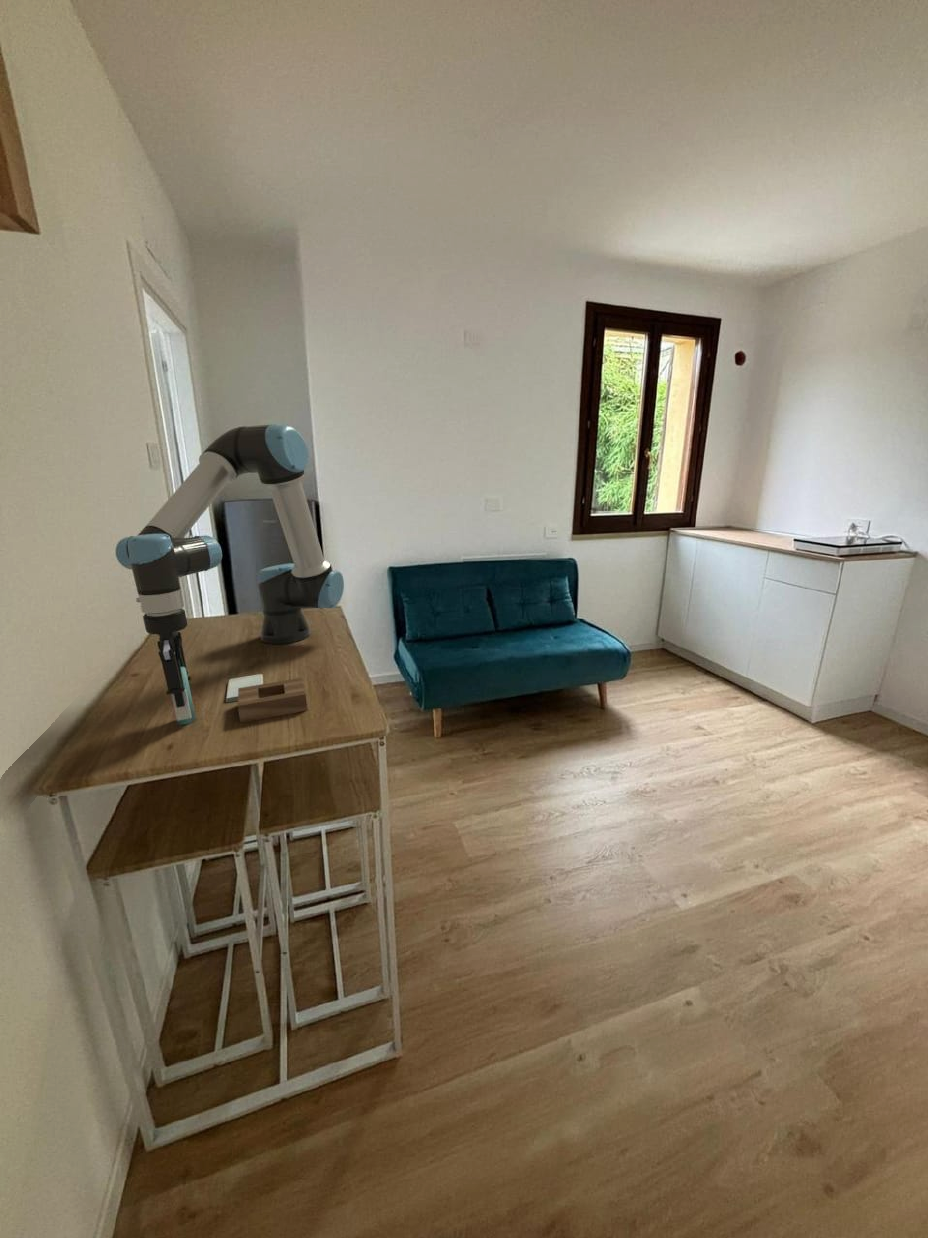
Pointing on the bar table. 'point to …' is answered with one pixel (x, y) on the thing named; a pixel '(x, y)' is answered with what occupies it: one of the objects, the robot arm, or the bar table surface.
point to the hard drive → (241, 685)
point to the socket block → (271, 700)
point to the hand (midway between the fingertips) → (185, 714)
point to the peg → (186, 685)
